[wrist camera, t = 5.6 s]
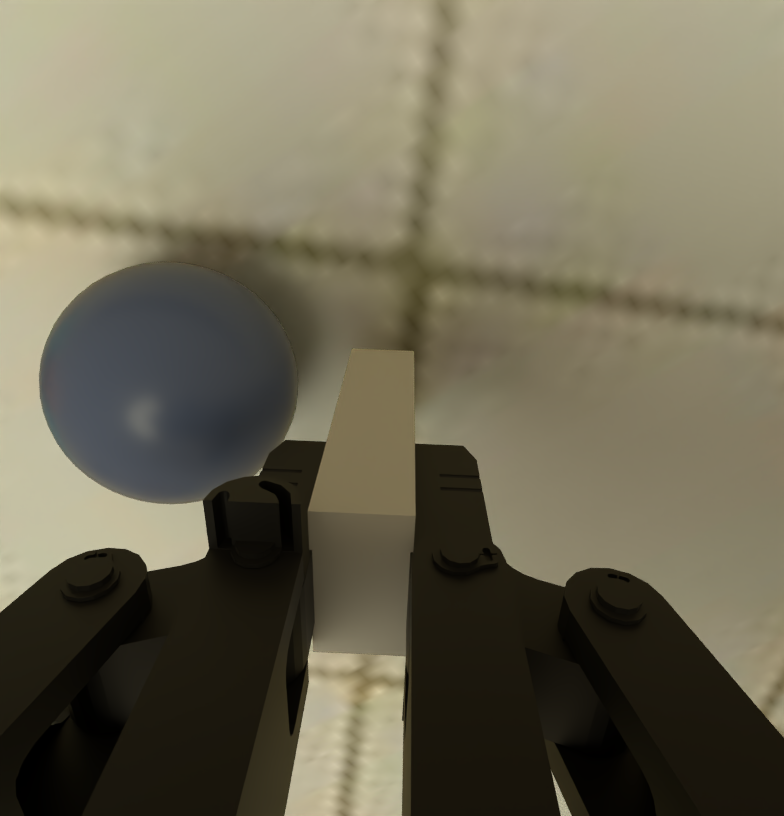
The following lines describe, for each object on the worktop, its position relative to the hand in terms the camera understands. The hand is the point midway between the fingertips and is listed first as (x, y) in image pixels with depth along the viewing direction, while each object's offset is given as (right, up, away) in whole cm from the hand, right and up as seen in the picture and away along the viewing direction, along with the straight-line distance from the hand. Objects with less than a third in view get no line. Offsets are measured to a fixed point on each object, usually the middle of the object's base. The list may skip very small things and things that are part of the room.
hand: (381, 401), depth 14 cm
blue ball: (-5, 0, -1) cm, 5 cm away
